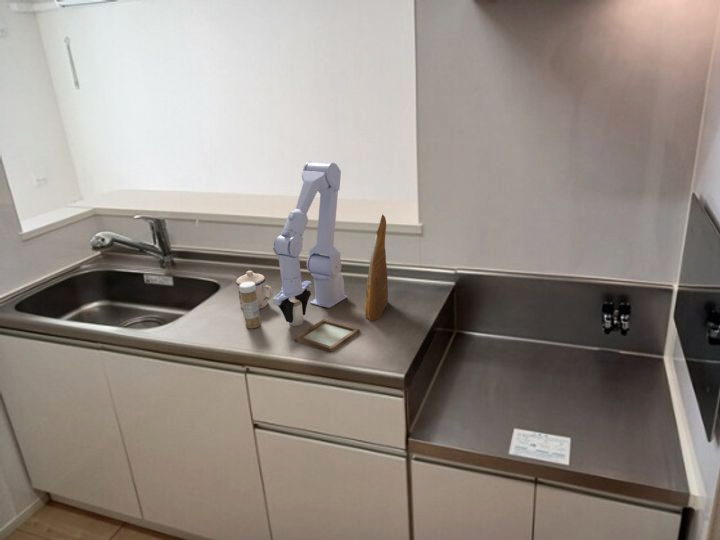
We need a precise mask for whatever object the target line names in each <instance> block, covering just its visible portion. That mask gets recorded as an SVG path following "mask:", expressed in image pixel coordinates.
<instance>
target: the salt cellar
mask: <svg viewBox="0 0 720 540" xmlns="http://www.w3.org/2000/svg"><path fill="white" fill-rule="evenodd" d="M289 300H290V302H293V303H294V306H293V322H292V323H289V322H288V325H290V326H294V327H295V326H296V327H297V326H301V325H303V324H304V323H305V321H304V315H303V310H302V303H301V301H300V300H296V299H295V298H294V299H289Z"/></svg>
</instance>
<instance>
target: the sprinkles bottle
mask: <svg viewBox="0 0 720 540" xmlns="http://www.w3.org/2000/svg"><path fill="white" fill-rule="evenodd" d="M239 287H240V292H241V296H242V305H243V309H242V310H243V316H244V322H245V327H246V328H247V329H256V328H258V327H260V326H261V324H262V323H261V321H260V320H261V318H260V309H258V302H257V297H256V286H255V283H254V282H244V283H241V284H240V286H239Z"/></svg>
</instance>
